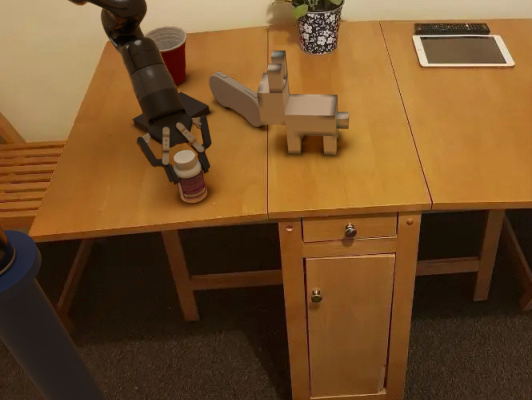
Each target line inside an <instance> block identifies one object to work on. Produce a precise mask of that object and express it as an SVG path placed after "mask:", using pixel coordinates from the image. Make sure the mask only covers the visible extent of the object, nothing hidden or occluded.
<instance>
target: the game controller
mask: <svg viewBox="0 0 532 400" xmlns="http://www.w3.org/2000/svg"><path fill="white" fill-rule="evenodd" d="M208 86H209V89H210V92H211V94H212V96H213V98H214V99H215V100H216V102H217V103H218V104H219V105H221V106H222V107H223V108H230V109H231V110H232V111H234V112H236V113H238V114H239V115H241V116H242V117H244V118H245V120H246V121H247V122H248V123H249V124H250V125H251V126H253V127H256V128H259V127H262V126H263V125H261V119H260V112H259V104H258V97H257V91H254V90H253V89H251V88H249V87H248V86H246V85H245V84H243V83H242V82H240V81H238V80H236V79H234V78H233V77H231V76H229V75H228V74H226V73H224V72H222V71H215V72H214V73H213V74H211V75H210V76H209V78H208Z"/></svg>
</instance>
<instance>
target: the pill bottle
mask: <svg viewBox="0 0 532 400" xmlns="http://www.w3.org/2000/svg"><path fill="white" fill-rule="evenodd" d="M196 156H197V155H196V152H195V151H194V150H193V151H192V150H190V149H183V150H180V151H177V152H176V153H175V154H174V156H173V163H174V165H173V169H174V171H175V174H176V176H177V178H178V181H179V183H178V184H176V186H177V189H178V192H179V196H180V199H181V200H182V201H183V202H186V203H187V204H195V203H200V202H201V201H202V200H205V198H207V195H208V188H207V183H206V179H205V175H204V172H203V170H202V166H201V163H200V162H199V160H198V159H197V157H196Z"/></svg>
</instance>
